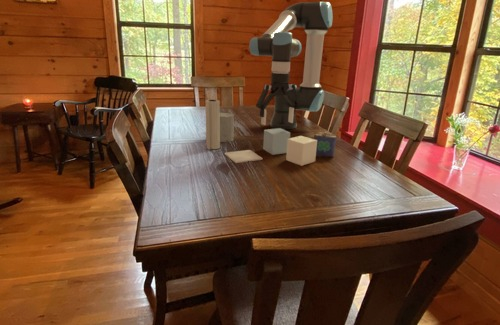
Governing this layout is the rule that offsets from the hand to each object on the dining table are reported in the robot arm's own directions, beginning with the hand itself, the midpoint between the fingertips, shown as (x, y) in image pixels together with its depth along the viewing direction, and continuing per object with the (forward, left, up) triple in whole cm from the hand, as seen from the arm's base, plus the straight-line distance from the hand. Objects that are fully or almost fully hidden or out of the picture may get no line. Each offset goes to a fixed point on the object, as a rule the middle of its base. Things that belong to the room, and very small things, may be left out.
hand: (277, 123), depth 142 cm
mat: (+17, +2, -13) cm, 21 cm away
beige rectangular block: (-3, +15, -13) cm, 20 cm away
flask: (-16, +13, -13) cm, 24 cm away
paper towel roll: (+25, -14, -13) cm, 31 cm away
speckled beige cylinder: (+15, -25, -13) cm, 32 cm away
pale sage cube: (0, 0, -13) cm, 13 cm away
